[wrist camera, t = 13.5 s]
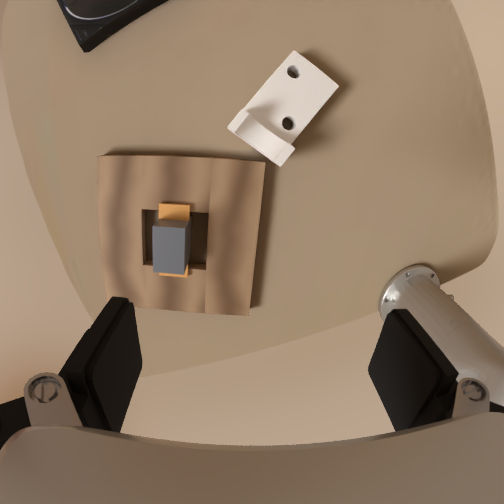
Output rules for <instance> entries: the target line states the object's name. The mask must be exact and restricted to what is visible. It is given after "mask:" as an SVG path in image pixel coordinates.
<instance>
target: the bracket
mask: <svg viewBox="0 0 504 504" xmlns="http://www.w3.org/2000/svg"><path fill="white" fill-rule="evenodd" d="M287 71H293V72H294V73H295V74H296V78H291V77H290V76H289V75H288V74H287ZM338 87H339V85H337V84H336V83H335V82H334V81H333V80H332V79H330V78H329V77H328V76H327V75H326V74H324V73H323V72H322V71H321V70H319V69H318V68H317V67H316V66H314V65H313V64H312V63H311V62H309V61H308V60H307V59H305V58H304V57H303V56H301V55H300V54H299V53H297V52H296V51H295V50H294V51H293V52H292V53H291V54H290V55H289V56H288V57H287V58H286V60H285V61H284V62H283V63H282V64H281V65H280V66H279V67H278V69H277V70H276V71H275V72H274V73H273V74H272V75H271V77H270V78H269V79H268V80H267V81H266V82H265V84H264V85H263V86H262V87H261V88H260V89H259V91H258V92H257V93H256V94H255V95H254V97H253V98H252V99H251V100H250V102H249V103H248V104H247V105H246V106H245V108H244V109H241V110H240V112H239V113H238V114H237V115H236V117H235V118H234V119H233V121H232V122H231V123H230V124H229V126H228V127H227V128H228V129H229V130H230V131H231V132H233V133H234V134H236V135H237V136H238V137H240V138H241V139H242V140H244V141H245V142H247V143H248V144H249V145H251V146H252V147H254V148H255V149H256V150H258V151H259V152H260V153H262V154H263V155H264V156H266V157H267V158H268V159H270V160H271V161H272V162H274V163H275V164H277V165H278V166H280V167H281V166H282V165H283V163H284V162H285V161H286V160H287V158H288V157H289V156H290V155H291V153H292V152H293V151H294V150H295V148H294V147H293V146H292V145H291V144H292V143H293V141H294V140H295V139H296V138H297V137H298V135H299V134H300V133H301V132H302V130H303V129H304V128H305V127H306V125H307V124H308V123H309V122H310V121H311V119H312V118H313V117H314V116H315V114H316V113H317V112H318V111H319V110H320V108H321V107H322V106H323V105H324V104H325V102H326V101H327V100H328V99H329V98H330V96H331V95H332V94H333V93H334V92H335V90H336V89H337V88H338ZM284 118H289V119H290V120H291V121H292V124H293V125H292V128H291V129H290V130H286V129H284V128H283V126H282V120H283V119H284Z"/></svg>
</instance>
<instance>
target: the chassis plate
mask: <svg viewBox="0 0 504 504" xmlns="http://www.w3.org/2000/svg"><path fill="white" fill-rule="evenodd" d="M264 172H265V162H264V161H255V160H243V159H231V158H217V157H200V156H177V155H101V156H98V169H97V185H98V218H99V235H100V248H101V259H102V268H103V277H104V285H105V293H106V300H107V303H108V301H109V300H110V299H111V297H112V296H116V297H125V298H128V299H129V302H132V303H133V304H134V306H136V307H145V308H154V309H164V310H175V311H186V312H198V313H212V314H226V315H243V316H249V310H250V301H251V292H252V283H253V274H254V265H255V255H256V246H257V237H258V228H259V219H260V210H261V200H262V191H263V182H264ZM159 203H174V204H189V205H190V212H201V213H209V221H208V239H207V261H206V264H198V263H188V277H187V278H185V277H173V276H162V275H159V273H158V272H153V260H147V258H146V209H149V210H159Z"/></svg>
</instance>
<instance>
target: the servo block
mask: <svg viewBox="0 0 504 504" xmlns="http://www.w3.org/2000/svg"><path fill="white" fill-rule="evenodd" d="M191 226H192V215H190V205H189V204H174V203H159V219H158V220H157V221H156V223H155V224H154V225H153V226H152V244H153V272H158V273H159V275H162V276H173V277H185V278H187V277H188V262H189V259H190V252H191Z"/></svg>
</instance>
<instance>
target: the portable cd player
mask: <svg viewBox="0 0 504 504" xmlns="http://www.w3.org/2000/svg"><path fill="white" fill-rule="evenodd" d="M57 1H58V4H59V6H60V8H61V10H62V12H63V14H64V16H65V18H66V20H67V22H68V24H69V26H70V28H71V30H72V32H73V34H74V36H75V38H76V40H77V42H78V43H79V45H80V47H81V48H82V50H83V51H84V52H90V51H91V50H92V49H94V48H95V47H96V46H98V45H99V44H100V43H102V42H103V41H104V40H106V39H107V38H109V37H110V36H111V35H113V34H114V33H116V32H117V31H119V30H120V29H122V28H123V27H125V26H126V25H128V24H129V23H131V22H132V21H134V20H135V19H137V18H139V17H140V16H142V15H144V14H145V13H147V12H149V11H150V10H152V9H154V8H156V7H157V6H159V5H161V4H163V3H165V2H166V1H168V0H57Z"/></svg>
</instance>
